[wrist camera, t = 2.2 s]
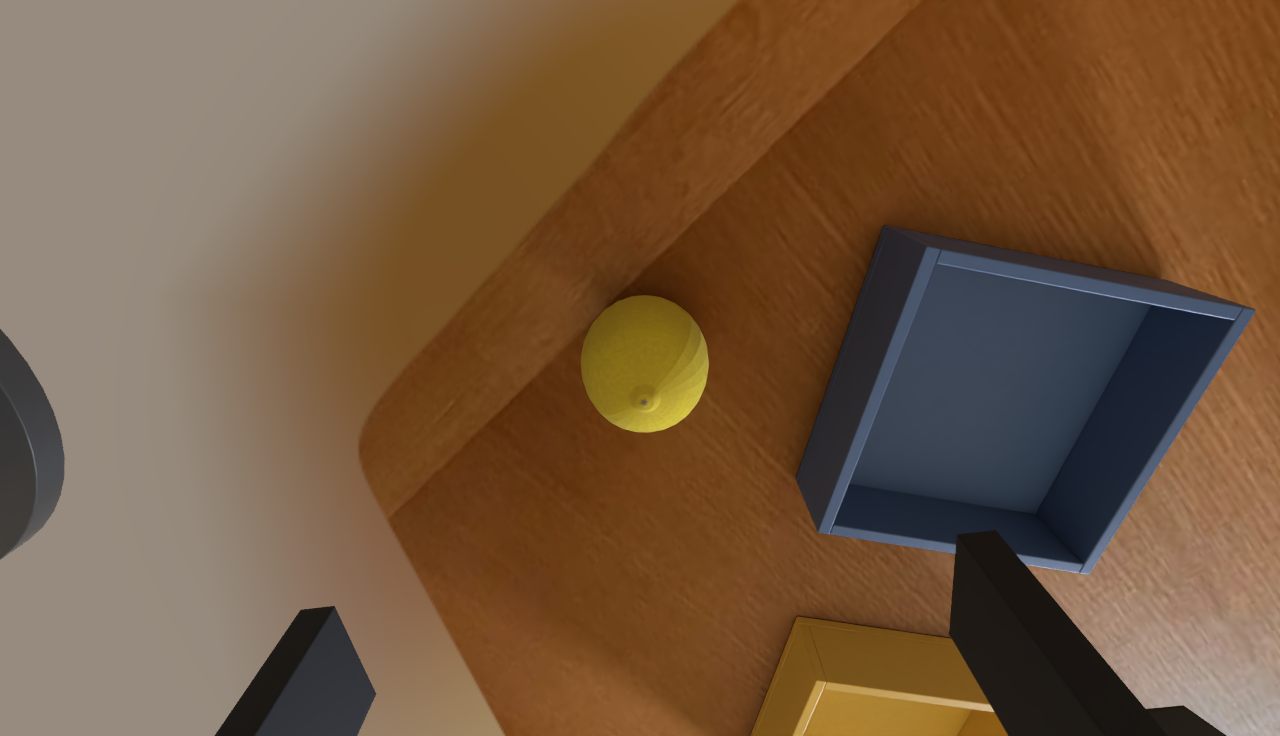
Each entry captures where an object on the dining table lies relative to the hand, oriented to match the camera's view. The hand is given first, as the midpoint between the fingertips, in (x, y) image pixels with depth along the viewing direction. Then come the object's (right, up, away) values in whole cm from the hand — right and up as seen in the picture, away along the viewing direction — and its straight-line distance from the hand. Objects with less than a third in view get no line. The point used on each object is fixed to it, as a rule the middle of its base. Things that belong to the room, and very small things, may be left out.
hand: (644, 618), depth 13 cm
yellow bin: (+15, -18, +28) cm, 36 cm away
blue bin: (+17, +4, +18) cm, 25 cm away
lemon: (0, +7, +17) cm, 19 cm away
